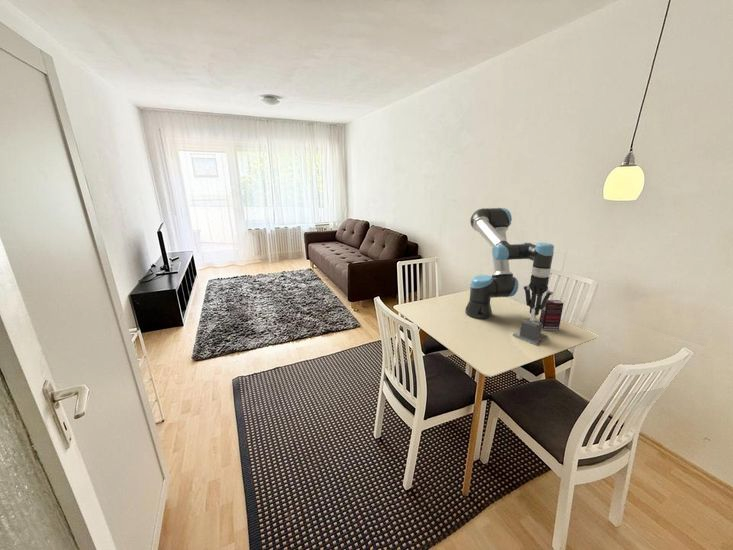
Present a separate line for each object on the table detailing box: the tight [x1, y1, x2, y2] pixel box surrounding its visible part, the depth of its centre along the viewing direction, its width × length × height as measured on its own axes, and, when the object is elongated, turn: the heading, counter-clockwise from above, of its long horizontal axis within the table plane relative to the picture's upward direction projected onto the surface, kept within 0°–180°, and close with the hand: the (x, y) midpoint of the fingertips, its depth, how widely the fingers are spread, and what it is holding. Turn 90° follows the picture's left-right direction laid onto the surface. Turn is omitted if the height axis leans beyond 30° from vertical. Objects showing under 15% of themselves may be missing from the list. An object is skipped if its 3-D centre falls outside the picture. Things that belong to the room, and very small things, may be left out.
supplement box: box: [538, 299, 564, 331], centre depth 158 cm, size 9×5×16 cm, turn 84°
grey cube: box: [519, 318, 542, 339], centre depth 150 cm, size 7×7×7 cm
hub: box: [512, 329, 549, 346], centre depth 151 cm, size 12×12×6 cm
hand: (532, 320), depth 149 cm, fingers closed
